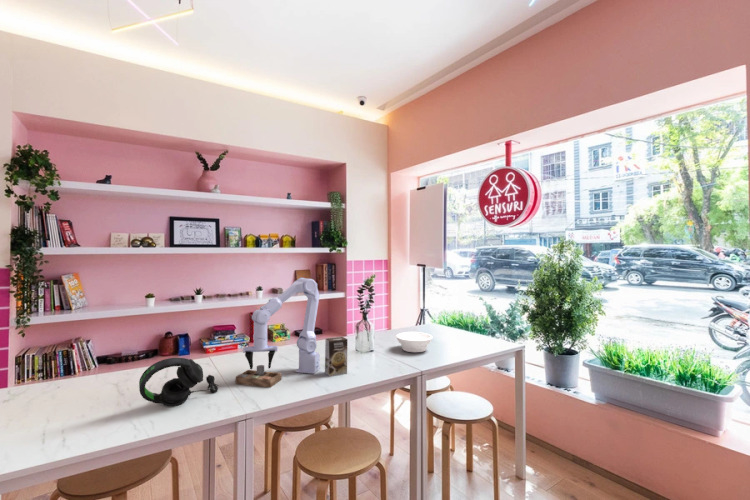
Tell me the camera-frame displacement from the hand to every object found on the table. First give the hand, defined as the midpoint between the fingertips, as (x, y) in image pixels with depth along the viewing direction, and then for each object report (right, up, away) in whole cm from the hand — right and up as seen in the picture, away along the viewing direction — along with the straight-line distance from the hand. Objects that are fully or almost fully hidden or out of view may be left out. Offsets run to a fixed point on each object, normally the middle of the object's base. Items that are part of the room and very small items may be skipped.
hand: (260, 368), depth 152 cm
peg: (0, -6, 0) cm, 6 cm away
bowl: (+73, -6, +49) cm, 88 cm away
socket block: (0, -6, -1) cm, 6 cm away
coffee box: (+32, -6, +10) cm, 34 cm away
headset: (-23, -6, -21) cm, 32 cm away
